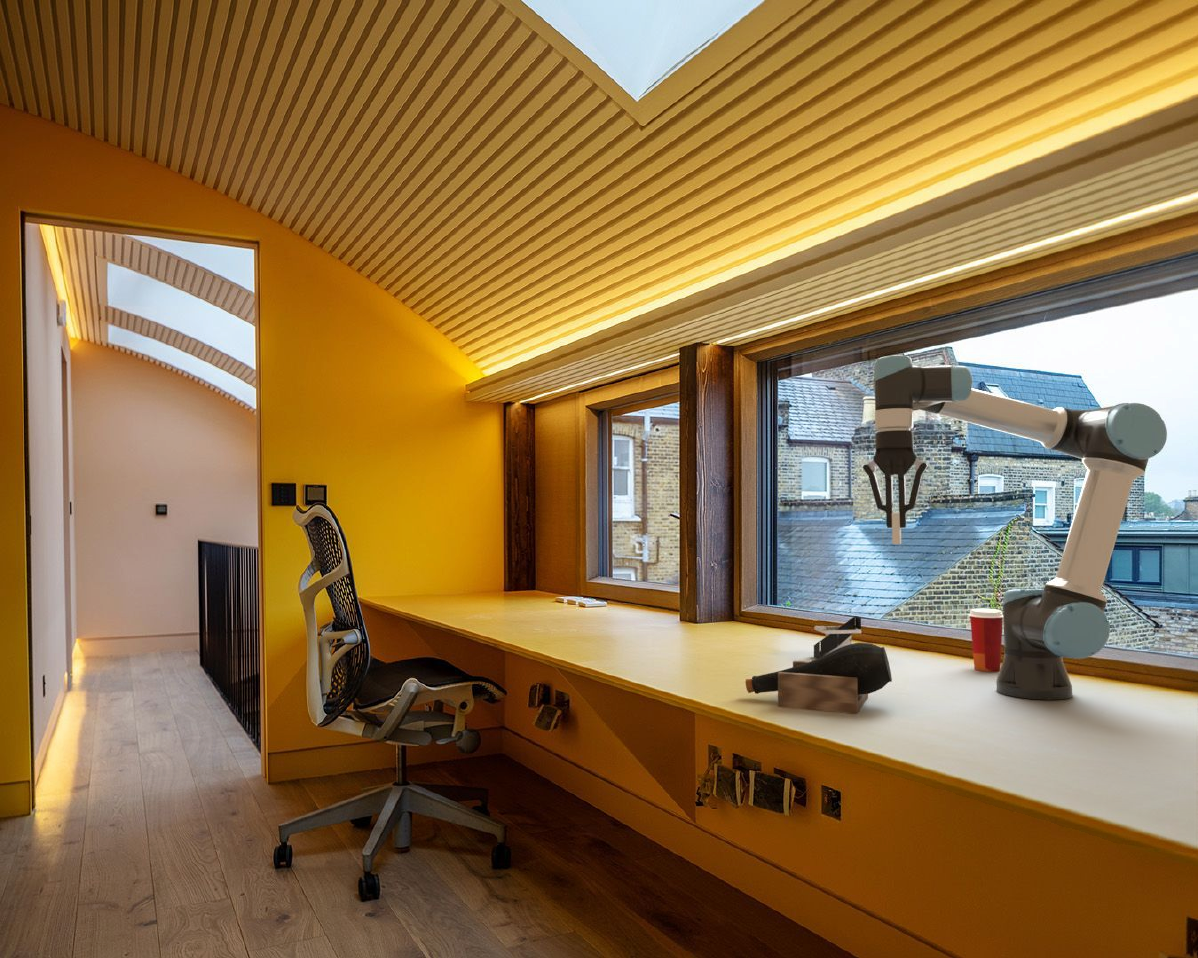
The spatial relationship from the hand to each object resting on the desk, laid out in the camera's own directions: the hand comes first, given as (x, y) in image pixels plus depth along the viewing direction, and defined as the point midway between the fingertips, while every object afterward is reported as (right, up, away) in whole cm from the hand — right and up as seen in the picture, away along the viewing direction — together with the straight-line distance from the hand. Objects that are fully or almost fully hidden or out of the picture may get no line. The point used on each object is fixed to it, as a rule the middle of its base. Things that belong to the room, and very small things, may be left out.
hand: (896, 543), depth 183 cm
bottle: (-2, -25, 0) cm, 25 cm away
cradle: (-14, -34, +5) cm, 37 cm away
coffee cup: (+37, -35, +40) cm, 65 cm away
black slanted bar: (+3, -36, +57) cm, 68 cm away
